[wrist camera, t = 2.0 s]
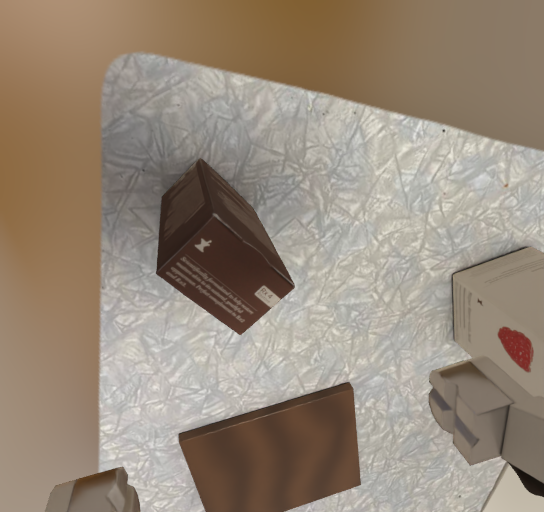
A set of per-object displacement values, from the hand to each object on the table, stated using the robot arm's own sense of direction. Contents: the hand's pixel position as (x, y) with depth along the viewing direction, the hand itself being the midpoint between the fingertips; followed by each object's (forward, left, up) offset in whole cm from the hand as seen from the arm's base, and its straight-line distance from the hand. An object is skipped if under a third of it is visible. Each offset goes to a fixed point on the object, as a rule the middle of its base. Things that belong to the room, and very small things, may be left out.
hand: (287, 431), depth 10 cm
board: (+1, -31, -22) cm, 38 cm away
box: (0, -1, -22) cm, 22 cm away
